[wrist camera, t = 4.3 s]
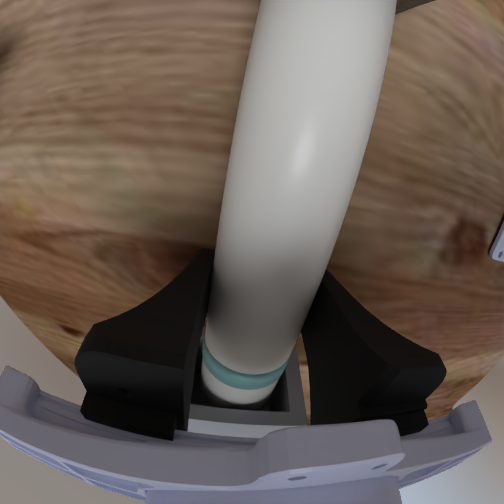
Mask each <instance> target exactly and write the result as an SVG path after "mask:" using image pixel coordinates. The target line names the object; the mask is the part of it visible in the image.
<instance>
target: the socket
mask: <svg viewBox="0 0 504 504" xmlns="http://www.w3.org/2000/svg"><path fill="white" fill-rule="evenodd" d="M205 328H206V326H204V327H203V331H202V335H201V339H200V343H199V347H198V351H197V356H196V363H195V370H194V378H193V386H192V395H191V403H190V412H189V422H188V432H194V433H202V434H210V435H220V436H231V437H246V438H262V437H264V436H265V435H267V434H268V433H270V432H272V431H276V430H279V429H283V428H286V427H296V426H305V425H308V424H307V417H306V410H305V403H304V396H303V389H302V383H301V376H300V370H299V363H298V357H297V351H296V344H295V345H294V347H293V349H292V354H291V356H290V359H289V361H288V363H287V365H286V367H285V369H284V371H283V373H282V375H281V376H280V378H279V380H278V382H277V384H276V386H275V388H274V390H273V392H272V394H271V396H270V398H269V400H268V402H267V403H266V404H265V405H264V406H263V407H262V408H261V409H260V410H258V411H251V410H237V409H226V408H217V407H213V406H212V405H211V404H210V403H209V402H208V401H207V400H206V399H205V397H204V395H203V393H202V390H201V385H200V381H201V370H202V359H203V356H202V349H203V339H204V331H205Z"/></svg>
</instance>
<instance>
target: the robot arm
mask: <svg viewBox="0 0 504 504" xmlns="http://www.w3.org/2000/svg"><path fill="white" fill-rule="evenodd" d="M214 256H215V250H211V249H205V248H201V249H200V250H199V251H198V253H197V254H196V255H195V257H194V258H193V259H192V261H191V262H190V263H189V264H188V265H187V266H186V267H185V268H184V269H183V271H182V272H181V273H180V274H179V275H178V276H177V277H176V278H174V279H173V280H172V281H171V282H170V283H169V284H168V285H167V286H166V287H164V288H163V289H162V290H161V291H159V292H158V293H157V294H155V295H154V296H152V297H151V298H149V299H148V300H146V301H145V302H143V303H142V304H140V305H138V306H137V307H135V308H133V309H131V310H129V311H127V312H125V313H122V314H120V315H118V316H116V317H113V318H110V319H107V320H105V321H102V322H99V323H96V324H94V325H93V326H92V328H91V330H90V331H89V332H88V334H87V335H86V337H85V339H84V340H83V342H82V345H81V347H80V349H79V351H78V353H77V355H76V357H75V362H74V364H75V368H76V371H77V373H78V375H79V377H80V379H81V381H82V383H83V385H84V387H85V388H86V391H87V392H86V395H85V397H84V400H83V403H82V406H80V405H77V404H74V403H71V402H69V401H66V400H64V399H61V398H58V397H56V396H53V395H51V394H48V393H46V392H44V391H41V390H40V388H39V386H38V384H37V383H36V382H35V381H34V379H32V378H31V377H30V376H28V375H26V374H24V373H22V372H20V371H18V370H16V369H14V368H11V367H10V366H6V367H5V368H4V371H3V372H2V374H1V376H0V436H1V437H2V438H3V439H5V440H6V441H7V442H8V443H10V444H11V445H12V446H13V447H15V448H16V449H18V450H20V451H22V452H23V453H25V454H27V455H29V456H31V457H32V458H34V459H36V460H38V461H40V462H42V463H44V464H46V465H48V466H50V467H52V468H54V469H56V470H59V471H61V472H63V473H65V474H67V475H70V476H72V477H74V478H77V479H79V480H81V481H84V482H87V483H89V484H92V485H95V486H97V487H100V488H102V489H106V490H108V491H112V492H115V493H118V494H121V495H124V496H127V497H131V498H135V499H138V500H142V501H146V502H145V504H402V501H401V496H400V491H399V489H400V488H403V487H406V486H409V485H411V484H414V483H417V482H419V481H421V480H424V479H427V478H429V477H431V476H434V475H436V474H438V473H441V472H443V471H445V470H447V469H450V468H452V467H454V466H456V465H458V464H459V463H461V462H462V461H464V460H466V459H467V458H469V457H470V456H472V455H473V454H475V453H476V452H478V451H479V450H481V449H482V448H484V447H485V446H487V445H488V444H489V443H491V442H492V438H491V436H490V434H489V431H488V428H487V426H486V423H485V421H484V419H483V416H482V414H481V411H480V409H479V407H478V405H477V402H476V401H471V402H467V403H464V404H462V405H459V406H458V407H456V408H455V409H454V410H453V411H451V412H450V413H449V415H447V416H444V417H440V418H436V419H433V420H429V421H428V420H427V417H426V414H425V412H424V409H426V408H427V403H426V400H425V399H426V398H427V397H428V396H429V395H430V394H431V393H432V392H433V391H434V390H435V389H436V388H437V387H438V386H439V385H440V384H441V383H442V382H443V380H444V378H445V376H446V372H447V370H446V368H445V366H444V364H443V362H442V360H441V358H440V356H439V354H437V353H435V352H433V351H430V350H428V349H426V348H424V347H422V346H419V345H417V344H416V343H414V342H412V341H410V340H408V339H407V338H405V337H403V336H402V335H400V334H398V333H397V332H395V331H394V330H392V329H391V328H389V327H388V326H386V325H385V324H384V323H382V322H381V321H380V320H378V319H377V318H376V317H375V316H373V315H372V314H371V313H370V312H369V311H367V310H366V309H365V308H364V307H363V306H362V305H361V304H360V303H359V302H358V301H357V300H356V299H355V298H354V297H353V296H352V295H351V294H350V293H349V292H348V291H347V290H346V289H345V288H344V287H343V286H342V285H341V284H340V283H339V282H338V281H337V280H336V279H335V278H334V277H333V276H332V275H331V274H330V272H329V271H328V270H325V272H324V275H323V278H322V280H321V283H320V285H319V288H318V290H317V293H316V295H315V298H314V300H313V303H312V305H311V308H310V310H309V312H308V315H307V317H306V320H305V322H304V324H303V327H302V329H301V334H302V338H303V343H304V347H305V352H306V357H307V362H308V369H309V382H310V403H311V424H310V425H305V426H296V427H286V428H283V429H279V430H276V431H272V432H270V433H268V434H267V435H265V436H264V437H262V438H246V437H231V436H220V435H210V434H202V433H194V432H188V422H189V412H190V403H191V395H192V386H193V378H194V370H195V363H196V356H197V351H198V347H199V343H200V339H201V335H202V331H203V327H204V323H205V319H206V315H207V311H208V303H209V295H210V287H211V279H212V271H213V263H214ZM490 257H491V258H492V259H494V260H497V261H501V262H504V221H503V223H502V226H501V228H500V230H499V233H498V235H497V237H496V239H495V241H494V244H493V246H492V248H491V250H490Z"/></svg>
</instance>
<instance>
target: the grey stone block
mask: <svg viewBox="0 0 504 504" xmlns="http://www.w3.org/2000/svg"><path fill="white" fill-rule="evenodd" d="M432 1H435V0H397V3H396V11H395V14H398V13H401V12H403V11H406V10H408V9H411V8H414V7H417V6H420V5H423V4H425V3H429V2H432Z"/></svg>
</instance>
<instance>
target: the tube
mask: <svg viewBox="0 0 504 504" xmlns="http://www.w3.org/2000/svg"><path fill="white" fill-rule="evenodd" d="M396 3H397V0H261V2H260V6H259V10H258V15H257V19H256V24H255V28H254V32H253V37H252V42H251V46H250V51H249V56H248V60H247V65H246V70H245V75H244V80H243V85H242V90H241V95H240V101H239V106H238V111H237V117H236V122H235V128H234V133H233V139H232V145H231V151H230V156H229V162H228V168H227V175H226V181H225V187H224V193H223V200H222V207H221V213H220V220H219V227H218V234H217V241H216V248H215V256H214V263H213V271H212V279H211V287H210V295H209V303H208V312H207V321H206V328H205V331H204V339H203V349H202V356H203V359H202V370H201V381H200V385H201V390H202V393H203V395H204V397H205V399H206V400H207V401H208V402H209V403H210V404H211V405H212V406H213V407H217V408H226V409H237V410H251V411H258V410H260V409H261V408H262V407H263V406H264V405H265V404H266V403H267V402H268V400H269V398H270V396H271V394H272V392H273V390H274V388H275V386H276V384H277V382H278V380H279V378H280V376H281V375H282V373H283V371H284V369H285V367H286V365H287V363H288V361H289V359H290V356H291V354H292V349H293V347H294V345H295V343H296V340H297V338H298V336H299V334H300V331H301V329H302V327H303V324H304V322H305V320H306V317H307V315H308V312H309V310H310V308H311V305H312V303H313V300H314V298H315V295H316V293H317V290H318V288H319V285H320V283H321V280H322V278H323V275H324V272H325V270H326V267H327V265H328V262H329V259H330V257H331V254H332V251H333V248H334V246H335V243H336V240H337V237H338V234H339V232H340V229H341V226H342V223H343V220H344V217H345V214H346V211H347V208H348V205H349V202H350V199H351V196H352V193H353V190H354V186H355V183H356V180H357V177H358V173H359V170H360V167H361V163H362V160H363V156H364V153H365V149H366V146H367V142H368V139H369V135H370V131H371V127H372V124H373V120H374V116H375V112H376V108H377V104H378V99H379V95H380V91H381V86H382V82H383V77H384V73H385V68H386V63H387V58H388V53H389V47H390V42H391V36H392V30H393V24H394V17H395V11H396Z"/></svg>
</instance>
